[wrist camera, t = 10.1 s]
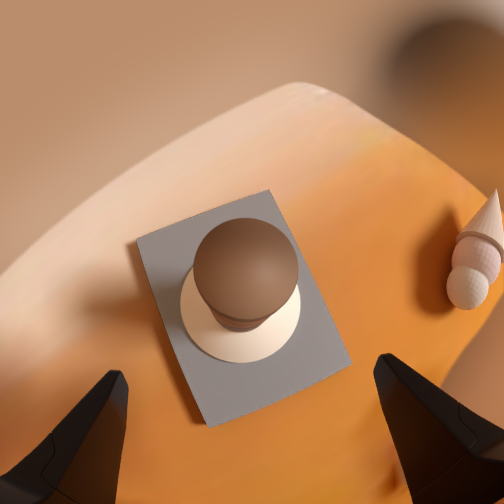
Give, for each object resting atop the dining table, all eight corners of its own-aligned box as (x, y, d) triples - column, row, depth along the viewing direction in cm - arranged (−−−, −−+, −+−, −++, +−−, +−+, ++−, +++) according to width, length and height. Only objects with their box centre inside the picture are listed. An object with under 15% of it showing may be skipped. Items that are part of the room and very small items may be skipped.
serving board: (347, 363, 22) (353, 363, 21) (210, 424, 20) (208, 429, 19) (267, 196, 27) (269, 187, 25) (140, 244, 25) (134, 237, 23)
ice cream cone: (478, 202, 29) (438, 310, 27) (469, 166, 25) (426, 283, 23) (520, 209, 23) (486, 328, 21) (516, 171, 20) (484, 302, 18)
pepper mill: (266, 337, 21) (293, 327, 12) (205, 327, 21) (183, 309, 12) (274, 278, 23) (303, 225, 13) (215, 269, 23) (204, 209, 13)
